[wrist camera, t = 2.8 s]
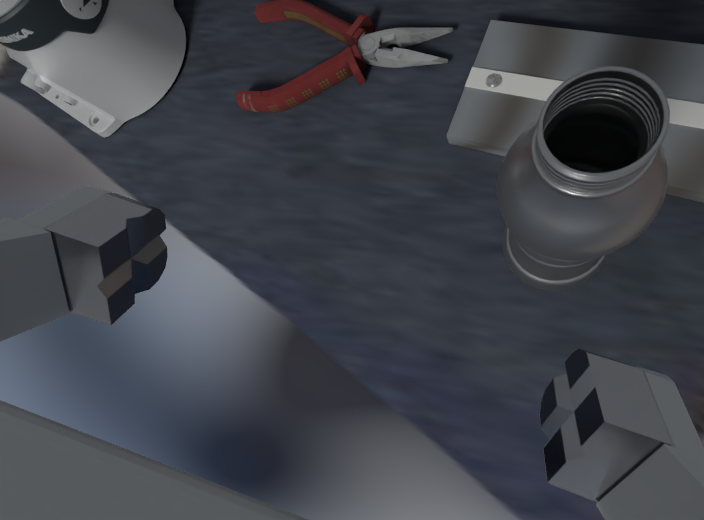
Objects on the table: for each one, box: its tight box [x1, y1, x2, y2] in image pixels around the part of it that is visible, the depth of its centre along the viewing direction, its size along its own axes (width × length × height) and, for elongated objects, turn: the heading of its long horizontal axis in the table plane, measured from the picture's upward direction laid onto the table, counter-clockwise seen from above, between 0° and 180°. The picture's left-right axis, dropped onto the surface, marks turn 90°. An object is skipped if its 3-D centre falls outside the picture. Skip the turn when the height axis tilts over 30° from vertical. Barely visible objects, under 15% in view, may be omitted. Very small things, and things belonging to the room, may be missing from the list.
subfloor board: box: [446, 20, 704, 203], centre depth 32 cm, size 20×10×2 cm, turn 68°
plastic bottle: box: [496, 66, 670, 292], centre depth 23 cm, size 6×7×20 cm
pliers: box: [236, 0, 453, 113], centre depth 40 cm, size 11×20×3 cm, turn 81°
